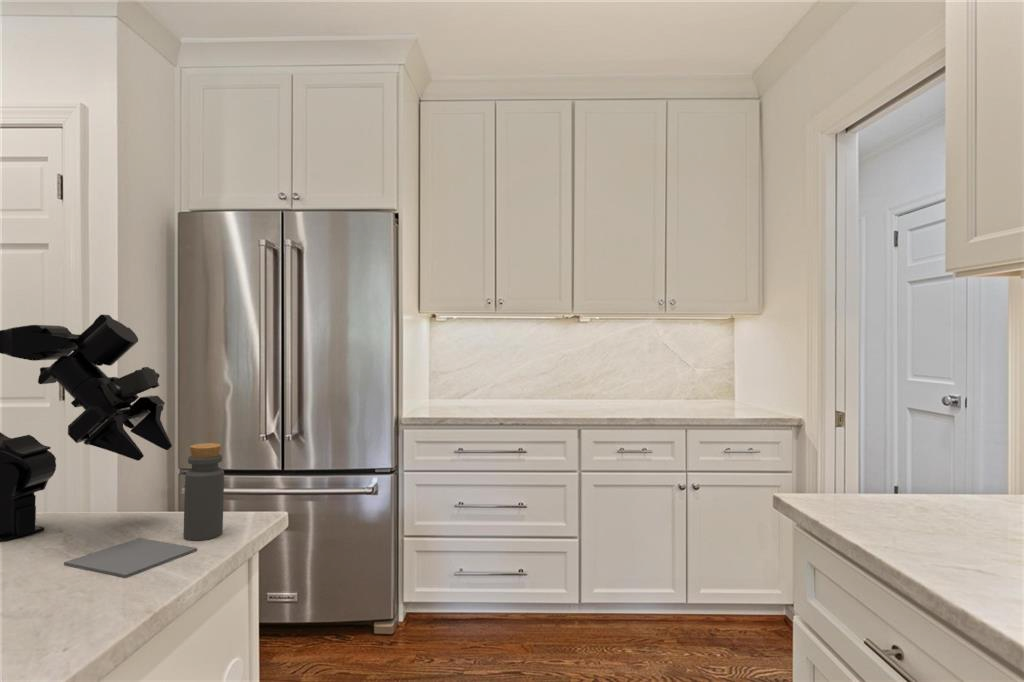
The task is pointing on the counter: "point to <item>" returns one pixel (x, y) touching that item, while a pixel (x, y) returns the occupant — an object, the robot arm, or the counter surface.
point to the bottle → (204, 493)
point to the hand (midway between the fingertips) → (156, 453)
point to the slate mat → (130, 557)
